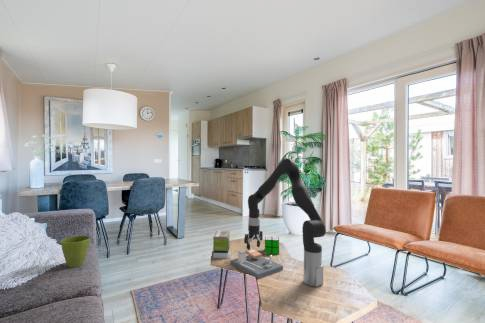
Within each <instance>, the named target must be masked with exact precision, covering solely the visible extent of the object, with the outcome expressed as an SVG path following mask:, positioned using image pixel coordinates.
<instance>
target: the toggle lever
mask: <svg viewBox="0 0 485 323" xmlns="http://www.w3.org/2000/svg"><path fill="white" fill-rule="evenodd" d="M268 258H269V261H268V265H269V264H270V261H272V258H273V254H269V257H268Z"/></svg>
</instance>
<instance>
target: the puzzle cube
mask: <svg viewBox="0 0 485 323" xmlns="http://www.w3.org/2000/svg"><path fill="white" fill-rule="evenodd" d="M264 254H265V255H280V237H279V236H275V235H274V236H273V235H272V236H271V235H265V236H264Z"/></svg>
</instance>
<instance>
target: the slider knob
mask: <svg viewBox="0 0 485 323" xmlns="http://www.w3.org/2000/svg"><path fill="white" fill-rule="evenodd" d="M246 256H247V254H246V250H244V249H241V250H237V258H238V262H240V263H244V262H246Z"/></svg>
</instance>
